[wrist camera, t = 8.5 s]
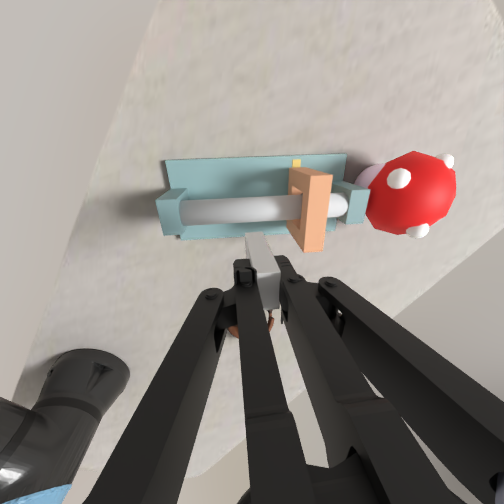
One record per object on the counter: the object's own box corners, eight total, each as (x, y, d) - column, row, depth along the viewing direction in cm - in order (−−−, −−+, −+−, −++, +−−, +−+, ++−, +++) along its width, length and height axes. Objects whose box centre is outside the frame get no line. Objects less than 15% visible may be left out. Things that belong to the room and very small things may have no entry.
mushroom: (358, 141, 31) (426, 139, 20) (419, 159, 33) (510, 165, 22) (331, 210, 36) (374, 238, 25) (386, 222, 38) (448, 253, 27)
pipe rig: (182, 237, 35) (169, 262, 28) (166, 160, 30) (146, 164, 23) (332, 228, 37) (357, 249, 30) (343, 153, 32) (378, 155, 24)
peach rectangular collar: (286, 227, 34) (303, 252, 26) (289, 167, 30) (310, 175, 22) (300, 226, 34) (322, 251, 26) (305, 167, 30) (332, 174, 22)
